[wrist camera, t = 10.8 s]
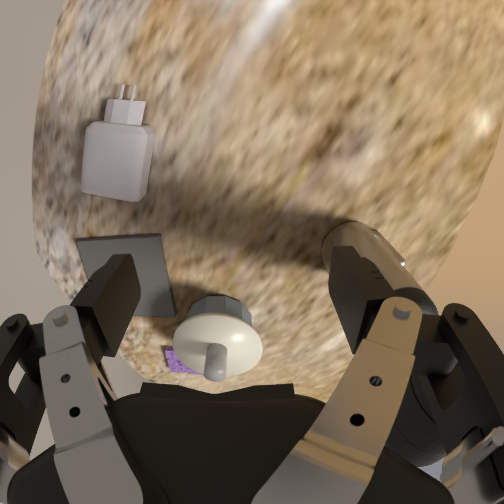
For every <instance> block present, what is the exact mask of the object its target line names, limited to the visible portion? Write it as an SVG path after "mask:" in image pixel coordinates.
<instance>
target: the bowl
mask: <svg viewBox="0 0 504 504" xmlns="http://www.w3.org/2000/svg"><path fill="white" fill-rule="evenodd" d="M204 313H222V314H228V315H232V316H235V317H238V318H240V319H242V320H244V321H246V322H247V323H249V324H250V325H251V326H252V321H251V313H250V312H249V311H248V310H247V308H246V307H245V306H244V305H243V304H242V303H241V302H239V301H237V300H234V299H232V298H229V297H227V296H207V297H205V298H203V299H201V300H199V301H197V302H195V303H193V305H192V307H191V309H190V311H189V313H188V314H187V318H186V319H188V318H190V317H193V316H195V315H199V314H204Z"/></svg>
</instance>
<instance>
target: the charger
mask: <svg viewBox="0 0 504 504" xmlns="http://www.w3.org/2000/svg"><path fill="white" fill-rule="evenodd" d="M124 87H125V84H122V85H121V88H120V93H119V98H118V99H107V104H106V109H105V115H104V120H103V121H95V122H92V123H91V124H90V125H89V126H88V127H87V128H86V132H85V140H84V150H83V160H82V174H81V192H83V193H87V194H92V195H97V196H103V197H108V198H113V199H118V200H124V201H130V202H138V201H140V200H141V199H142V198H143V197H144V196H145V195H146V194H147V186H148V178H149V171H150V165H151V158H152V152H153V146H154V141H155V135H156V133H155V131H154V130H153V128H152V127H151V126H150V125H144V124H141V123H142V118H143V113H144V108H145V103H146V102H144V101H134V96H135V91H136V87H137V85H133V87H132V92H131V96H130V100H122V97H123V92H124Z"/></svg>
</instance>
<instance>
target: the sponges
mask: <svg viewBox="0 0 504 504" xmlns="http://www.w3.org/2000/svg"><path fill="white" fill-rule="evenodd" d="M165 354H166V358H167V362H168V365H169V370H170V372H178V373H185V372H187V373H191V374H201V373H198V372H196V371H194V370H192V369H190V368H188V367H187V366H186V365H184V364H183V363H182V362H181V361H180V360H179V359H178V357H177V356H176V354H175V352H174V349H173V346H166V349H165ZM201 375H204V374H201Z"/></svg>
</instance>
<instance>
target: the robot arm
mask: <svg viewBox="0 0 504 504" xmlns="http://www.w3.org/2000/svg"><path fill="white" fill-rule="evenodd" d="M321 256H322V260H323V263H324V265H325V268H326V269H327V271H328V274H329V282H328V286H329V294H330V297H331V299H332V302H333V304H334V307H335V309H336V312H337V314H338V317H339V319H340V322H341V324H342V327H343V330H344V332H345V335H346V337H347V340H348V343H349V345H350V348H351V351H352V353H353V354H355V355H354V357H353V359H352V360H351V362H350V364H349V366H348V368H347V369H346V371H345V373H344V375H343V377H342V378H341V380H340V382H339V383H338V385H337V387H336V388H335V390H334V392H333V393H332V395H331V397H330V398H329V400H328V402H327V403H324V402H322V401H320V400H318V399H315V398H312V397H308V396H304V395H298V394H294V387H293V383H290V384H276V385H257V386H251V387H247V388H242V389H238V390H233V391H229V392H224V393H219V394H210V393H206V392H202V391H198V390H194V389H190V388H186V387H183V386H179V385H171V384H157V383H145V382H143V383H142V387H141V390H140V393H136V394H131V395H127V396H124V397H121V398H119V399H118V398H117V396H116V394H115V392H114V390H113V387H112V385H111V382H110V380H109V378H108V375H107V373H106V370H105V368H104V365H103V364H102V362H101V359H102V357H103V356H108V357H115V355H116V353H117V351H118V348H119V346H120V344H121V341H122V339H123V337H124V334H125V332H126V330H127V328H128V325H129V323H130V321H131V319H132V316H133V314H134V312H135V310H136V308H137V306H138V303H139V301H140V298H141V287H140V283H139V279H138V275H137V271H136V267H135V263H134V259H133V257H132V255H131V254H130V253H127V254H113V255H112V256H111V257H110V258H109V260H108V261H107V262H106V263H105V265H104V266H102V267H101V268H99V269H98V270H97V271H95V272H94V273H93V274H92V275H91V277H90V278H89V279H88V281H87V282H86V283H85V285H84V288H82V289H81V290H80V291H79V293H78V294H77V295H76V297H75V298H74V300H73V301H72V302H71V304H70V305H69V306H68V305H66V306H60V307H57V308H55V309H54V310H52V311H50V312H49V313H48V314H47V315H46V317H45V318H44V321H43V323H39V324H33V325H30V323H29V321H28V319H27V317H26V316H25V315H24V314H16V315H13V316H11V317H9V318H8V319H6V320H5V321H4V322H3V324H2V325H1V326H0V502H2V503H4V504H504V354H503V353H502V351H501V350H500V348H499V347H498V345H497V344H496V342H495V341H494V339H493V338H492V336H491V335H490V334H489V332H488V331H487V329H486V328H485V326H484V325H483V324H482V322H481V321H480V320H479V318H478V317H477V315H476V314H475V313H474V312H473V311H472V310H471V309H469V308H468V307H466V306H464V305H462V304H457V303H452V304H448V305H447V306H445V308H444V310H443V313H442V315H441V316H439V315H438V311H437V308H436V306H435V305H434V303H433V302H432V301H431V299H430V298H429V297H428V295H427V294H426V293H425V292H424V290H423V289H422V288H421V287H420V285H419V284H418V283H417V282H416V281H415V279H414V278H413V277H412V276H411V275H410V273H409V272H408V271H407V270H406V269H405V267H404V266H405V260H404V258H403V257H402V256H401V255H400V254H399V253H398V252H397V251H396V250H395V249H394V247H393V246H392V245H391V244H390V243H389V242H388V241H387V240H386V239H385V238H384V237H383V236H382V235H381V234H380V233H379V232H378V231H374V230H371V229H370V228H369V227H368V226H367V225H365V224H363V223H359V222H347V223H343V224H341V225H338V226H337V227H335V228H334V229H333V230H332V231H331V232H330V233H329V234H328V235H327V236H326V238H325V240H324V242H323V244H322V249H321ZM16 362H18V363H19V365H20V366H21V368H22V369H23V370H24V372H25V374H24V376H23V378H22V380H21V382H20V384H19V386H18V388H17V390H16V392H15V394H14V393H13V392H12V390H11V389H10V387H9V376H10V374H11V372H12V370H13V368H14V366H15V364H16ZM45 408H47V413H48V417H49V422H50V426H51V430H52V434H53V438H54V442H55V444H54V445H52V446H51V447H49V448H48V449H47V450H45V451H44V452H42V453H41V454H40V455H38V456H37V457H36V458H34V459H32V460H31V461H30V458H29V456H30V452H31V449H32V446H33V443H34V440H35V436H36V434H37V431H38V428H39V425H40V422H41V419H42V416H43V414H44V411H45ZM445 456H446V457H445ZM443 457H445V459H444V461H443V464H442V473H441V475H440V480H441V482H442V483H441V482H440V481H438V480H437V479H435V478H433V477H432V476H430V475H428V474H427V473H425V472H424V471H422V470H421V469H419V468H418V467H421V466H422V467H423V466H428V465H431V464H433V463H435V462H437V461H438V460H440V459H442V458H443Z"/></svg>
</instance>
